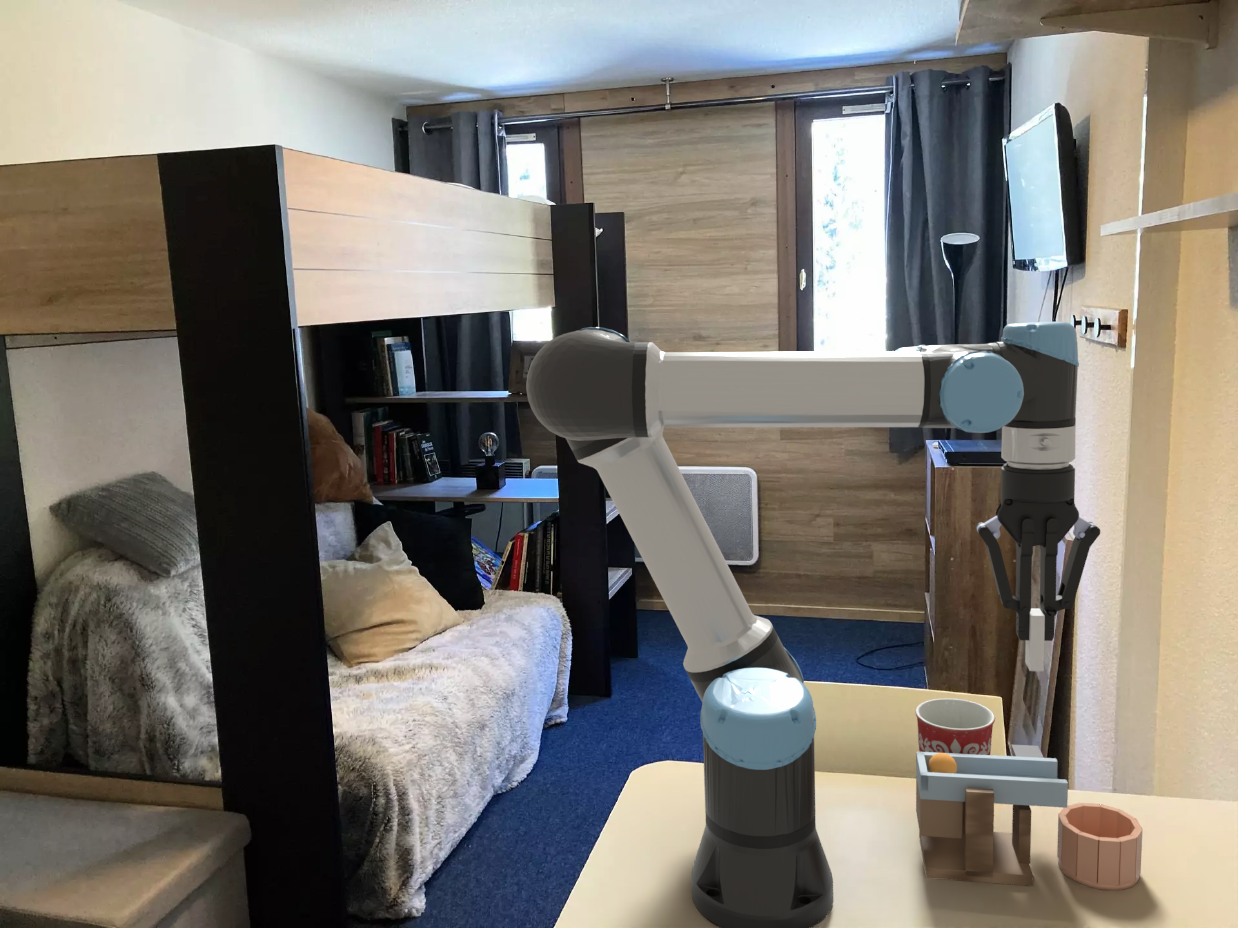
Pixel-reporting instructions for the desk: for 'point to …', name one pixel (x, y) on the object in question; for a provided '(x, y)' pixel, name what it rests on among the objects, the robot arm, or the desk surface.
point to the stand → (982, 845)
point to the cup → (1099, 846)
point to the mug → (954, 727)
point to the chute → (984, 786)
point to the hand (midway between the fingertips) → (1034, 666)
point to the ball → (942, 764)
